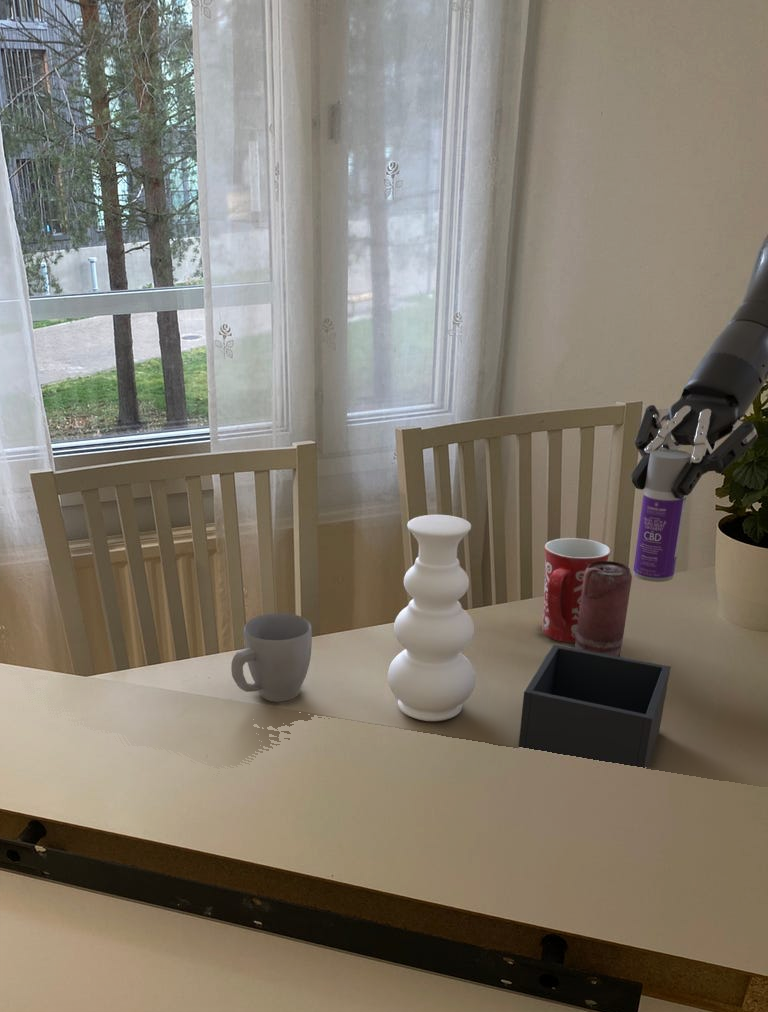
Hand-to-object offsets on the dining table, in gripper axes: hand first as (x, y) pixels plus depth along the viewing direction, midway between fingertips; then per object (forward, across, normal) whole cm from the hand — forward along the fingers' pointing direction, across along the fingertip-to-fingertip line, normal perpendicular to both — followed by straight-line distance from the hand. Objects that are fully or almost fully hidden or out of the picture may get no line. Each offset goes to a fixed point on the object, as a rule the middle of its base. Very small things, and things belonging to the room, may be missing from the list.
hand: (656, 489), depth 106 cm
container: (+7, 0, +9) cm, 11 cm away
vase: (+35, -14, +4) cm, 38 cm away
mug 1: (+45, -29, -6) cm, 54 cm away
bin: (+29, +4, +10) cm, 31 cm away
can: (+16, -9, +24) cm, 30 cm away
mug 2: (+14, -17, +26) cm, 34 cm away
